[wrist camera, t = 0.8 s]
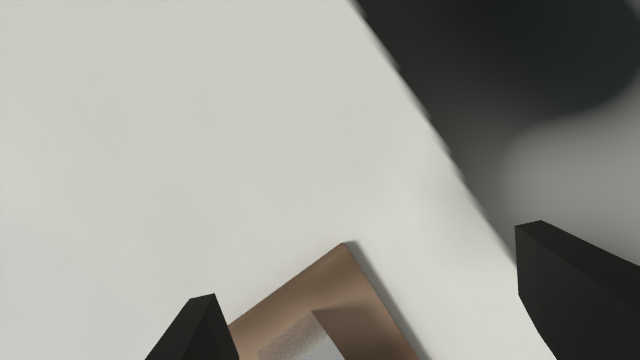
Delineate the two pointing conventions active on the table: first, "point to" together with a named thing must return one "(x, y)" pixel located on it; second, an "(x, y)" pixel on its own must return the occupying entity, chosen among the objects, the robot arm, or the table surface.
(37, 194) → the table surface
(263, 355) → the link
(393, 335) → the stand
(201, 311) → the robot arm
